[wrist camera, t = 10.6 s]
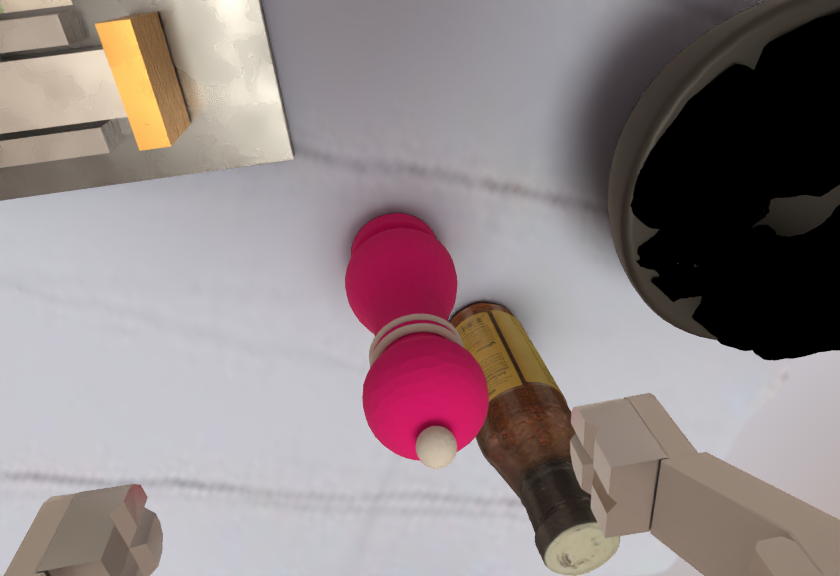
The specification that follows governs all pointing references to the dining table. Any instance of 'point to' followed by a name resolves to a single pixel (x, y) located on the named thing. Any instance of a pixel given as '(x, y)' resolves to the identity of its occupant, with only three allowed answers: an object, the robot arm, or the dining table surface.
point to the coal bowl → (739, 183)
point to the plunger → (99, 84)
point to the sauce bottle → (532, 440)
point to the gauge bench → (198, 79)
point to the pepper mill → (414, 342)
